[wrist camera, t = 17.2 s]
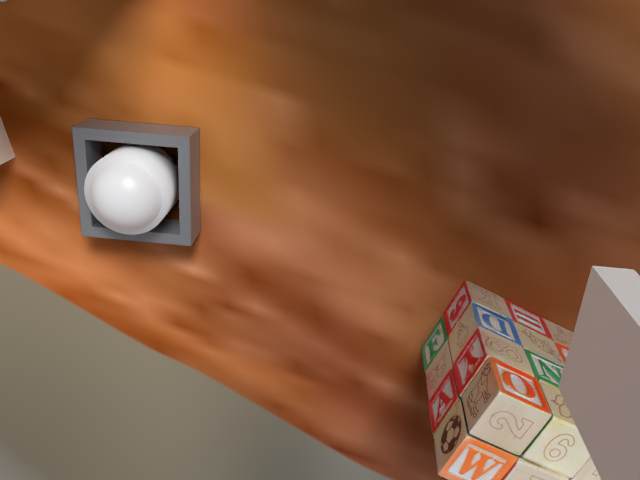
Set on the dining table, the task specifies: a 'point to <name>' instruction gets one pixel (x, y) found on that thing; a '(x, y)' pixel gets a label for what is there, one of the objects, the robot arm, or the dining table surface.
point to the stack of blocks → (500, 393)
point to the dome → (132, 188)
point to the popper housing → (180, 137)
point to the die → (5, 145)
